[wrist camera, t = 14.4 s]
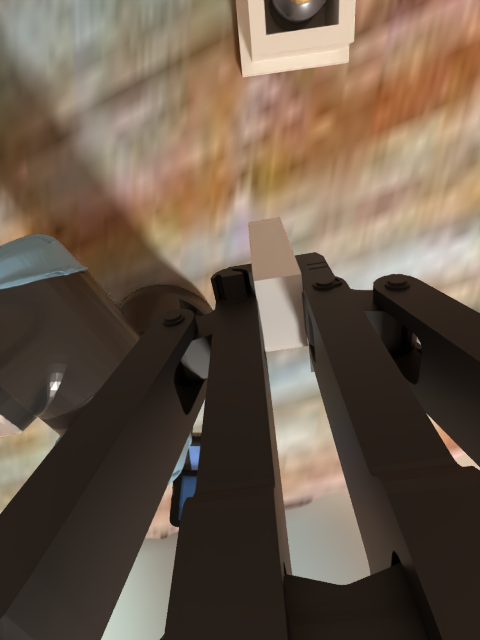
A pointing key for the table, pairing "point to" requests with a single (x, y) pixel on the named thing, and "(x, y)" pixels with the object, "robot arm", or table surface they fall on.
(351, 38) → the knob panel
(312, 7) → the knob
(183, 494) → the handheld game console
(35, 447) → the table surface
